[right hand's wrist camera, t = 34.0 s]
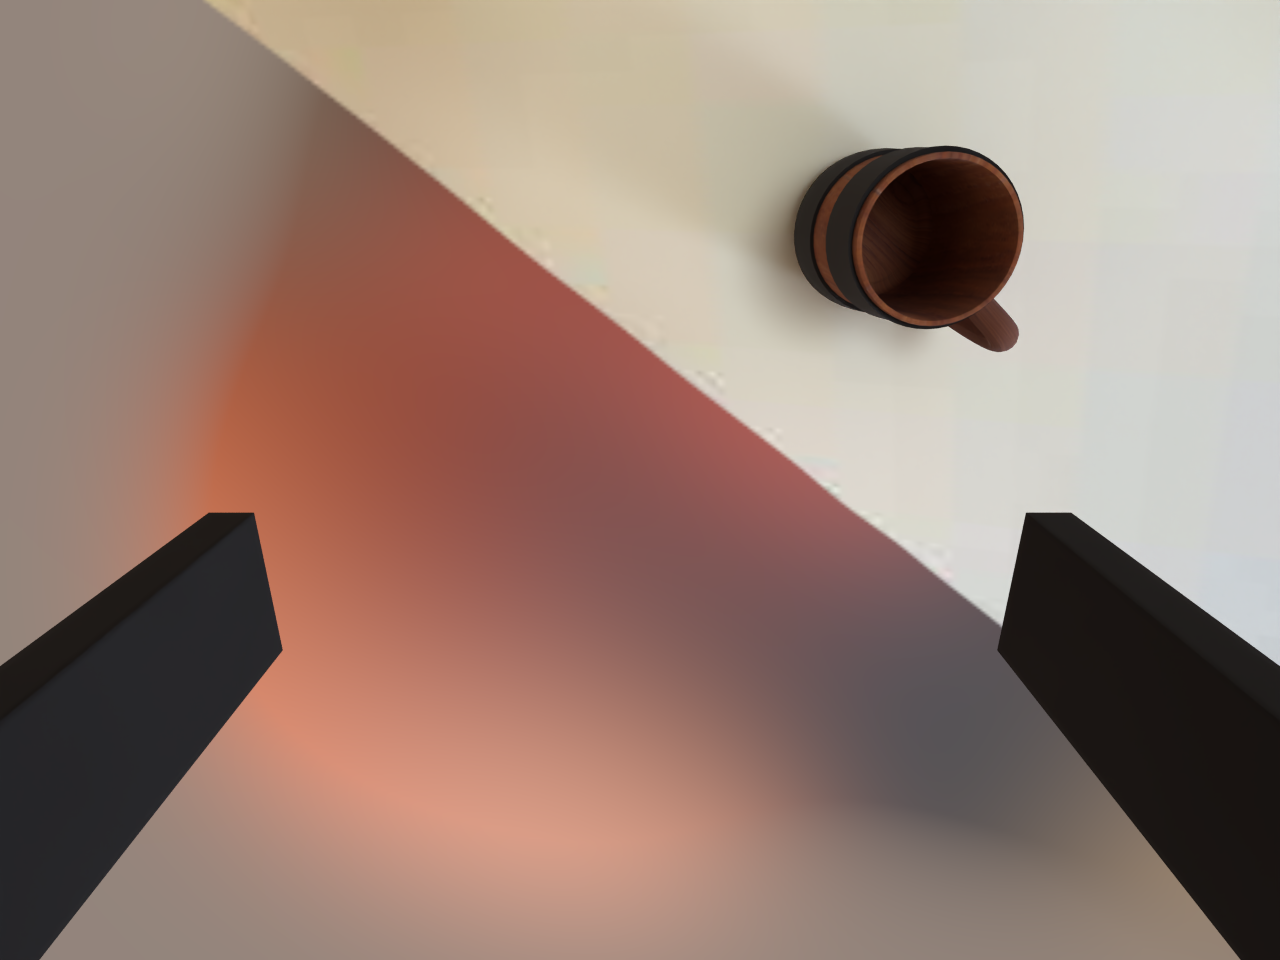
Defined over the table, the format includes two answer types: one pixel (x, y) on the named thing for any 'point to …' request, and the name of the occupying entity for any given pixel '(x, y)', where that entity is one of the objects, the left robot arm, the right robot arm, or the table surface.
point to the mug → (915, 239)
